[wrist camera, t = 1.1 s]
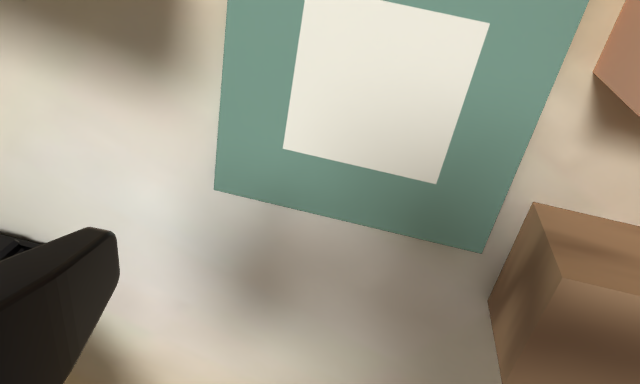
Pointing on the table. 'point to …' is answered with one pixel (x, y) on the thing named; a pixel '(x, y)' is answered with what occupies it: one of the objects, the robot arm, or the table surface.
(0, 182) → the table surface
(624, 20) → the terracotta block
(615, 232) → the walnut block
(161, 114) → the table surface
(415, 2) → the green flat square panel
